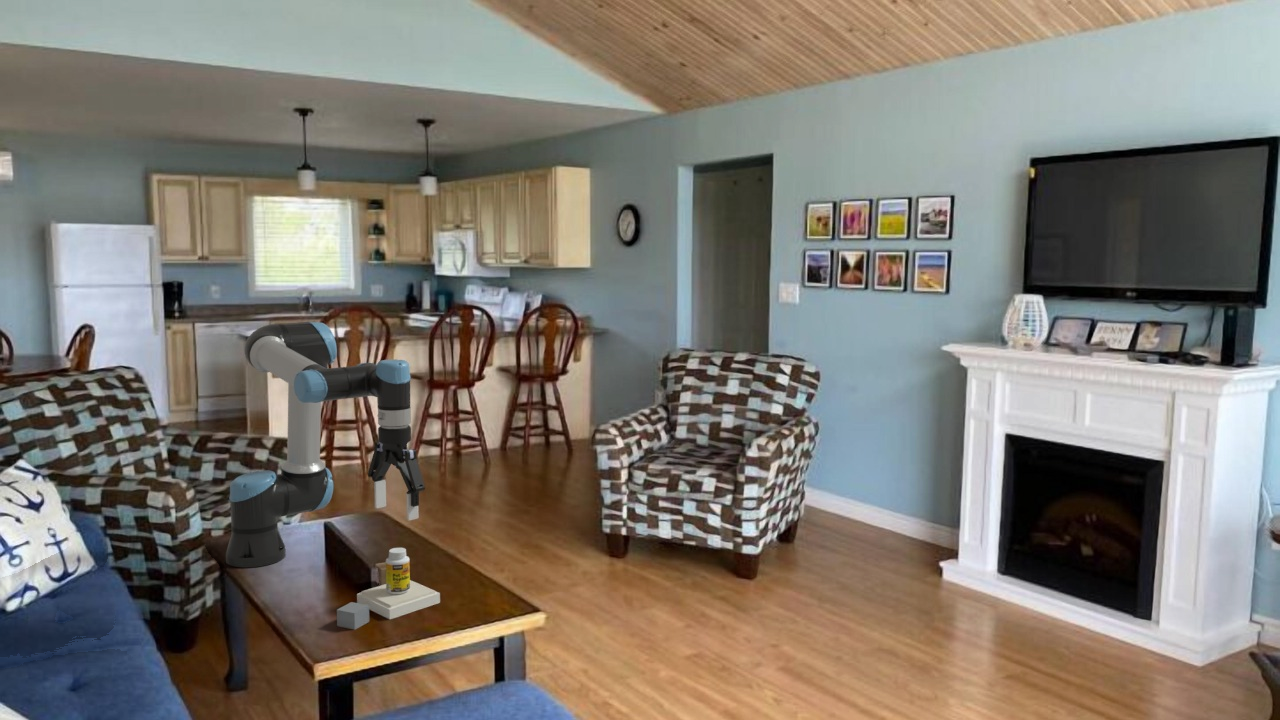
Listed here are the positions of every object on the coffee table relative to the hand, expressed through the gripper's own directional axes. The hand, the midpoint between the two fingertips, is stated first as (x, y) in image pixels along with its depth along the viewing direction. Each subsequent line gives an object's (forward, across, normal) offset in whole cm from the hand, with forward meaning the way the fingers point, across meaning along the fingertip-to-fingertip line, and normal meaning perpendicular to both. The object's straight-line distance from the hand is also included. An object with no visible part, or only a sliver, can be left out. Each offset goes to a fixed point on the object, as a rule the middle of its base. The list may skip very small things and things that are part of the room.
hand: (396, 513), depth 225 cm
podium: (+22, 0, 0) cm, 22 cm away
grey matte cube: (+22, +3, -14) cm, 27 cm away
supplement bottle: (+20, 0, 0) cm, 20 cm away
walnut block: (+22, -13, +5) cm, 26 cm away
